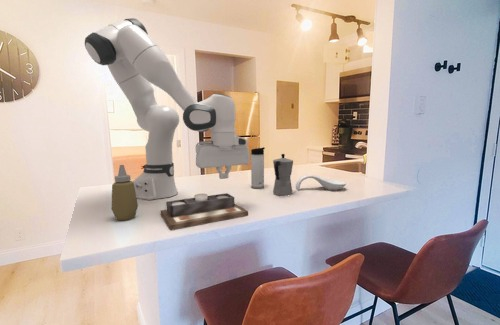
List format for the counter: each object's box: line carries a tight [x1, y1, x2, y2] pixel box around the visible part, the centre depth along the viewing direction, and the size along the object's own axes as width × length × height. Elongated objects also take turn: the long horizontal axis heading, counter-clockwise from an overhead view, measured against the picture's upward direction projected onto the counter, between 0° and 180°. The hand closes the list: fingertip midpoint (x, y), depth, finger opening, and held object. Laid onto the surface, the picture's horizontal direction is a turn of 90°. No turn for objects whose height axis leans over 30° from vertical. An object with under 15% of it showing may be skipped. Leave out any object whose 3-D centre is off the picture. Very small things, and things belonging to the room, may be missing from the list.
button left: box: [172, 202, 185, 206], centre depth 90 cm, size 4×4×3 cm
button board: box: [160, 192, 249, 231], centre depth 91 cm, size 26×16×5 cm, turn 119°
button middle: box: [194, 193, 209, 202], centre depth 93 cm, size 4×4×3 cm
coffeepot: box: [272, 153, 294, 197], centre depth 118 cm, size 15×9×18 cm, turn 153°
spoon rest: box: [295, 174, 347, 191], centre depth 127 cm, size 24×12×7 cm, turn 94°
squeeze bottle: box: [111, 164, 139, 221], centre depth 88 cm, size 8×8×18 cm
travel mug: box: [250, 147, 266, 190], centre depth 130 cm, size 6×7×20 cm
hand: (223, 178), depth 97 cm, fingers closed
